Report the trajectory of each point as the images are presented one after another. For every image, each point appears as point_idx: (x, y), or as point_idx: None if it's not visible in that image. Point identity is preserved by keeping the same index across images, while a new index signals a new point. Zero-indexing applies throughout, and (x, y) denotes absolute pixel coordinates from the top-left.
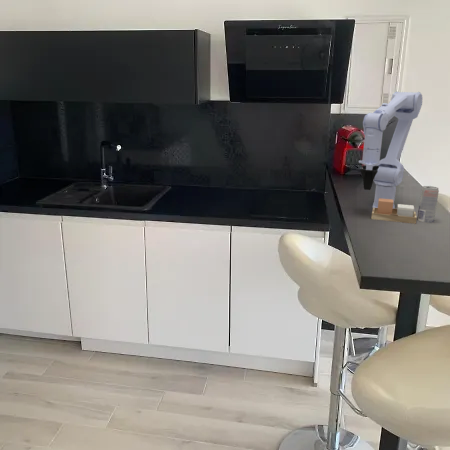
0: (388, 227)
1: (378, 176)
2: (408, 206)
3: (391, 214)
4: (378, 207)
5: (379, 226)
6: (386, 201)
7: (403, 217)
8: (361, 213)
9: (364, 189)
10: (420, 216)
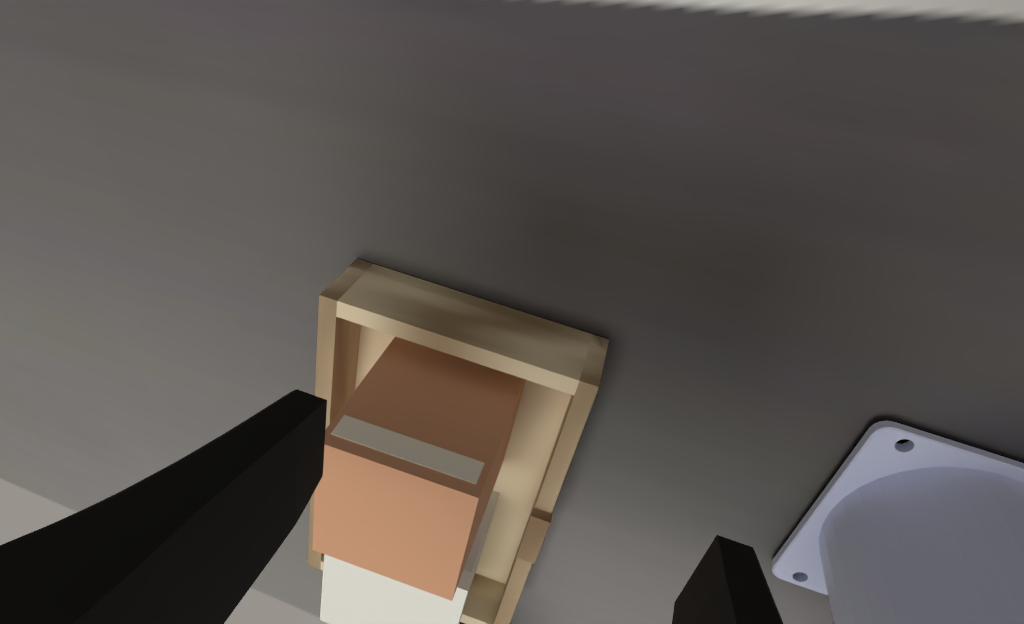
0: (205, 334)
1: None
2: (394, 622)
3: None
4: (355, 396)
5: (201, 276)
6: (328, 508)
7: (313, 498)
8: (646, 239)
9: (290, 392)
10: None
